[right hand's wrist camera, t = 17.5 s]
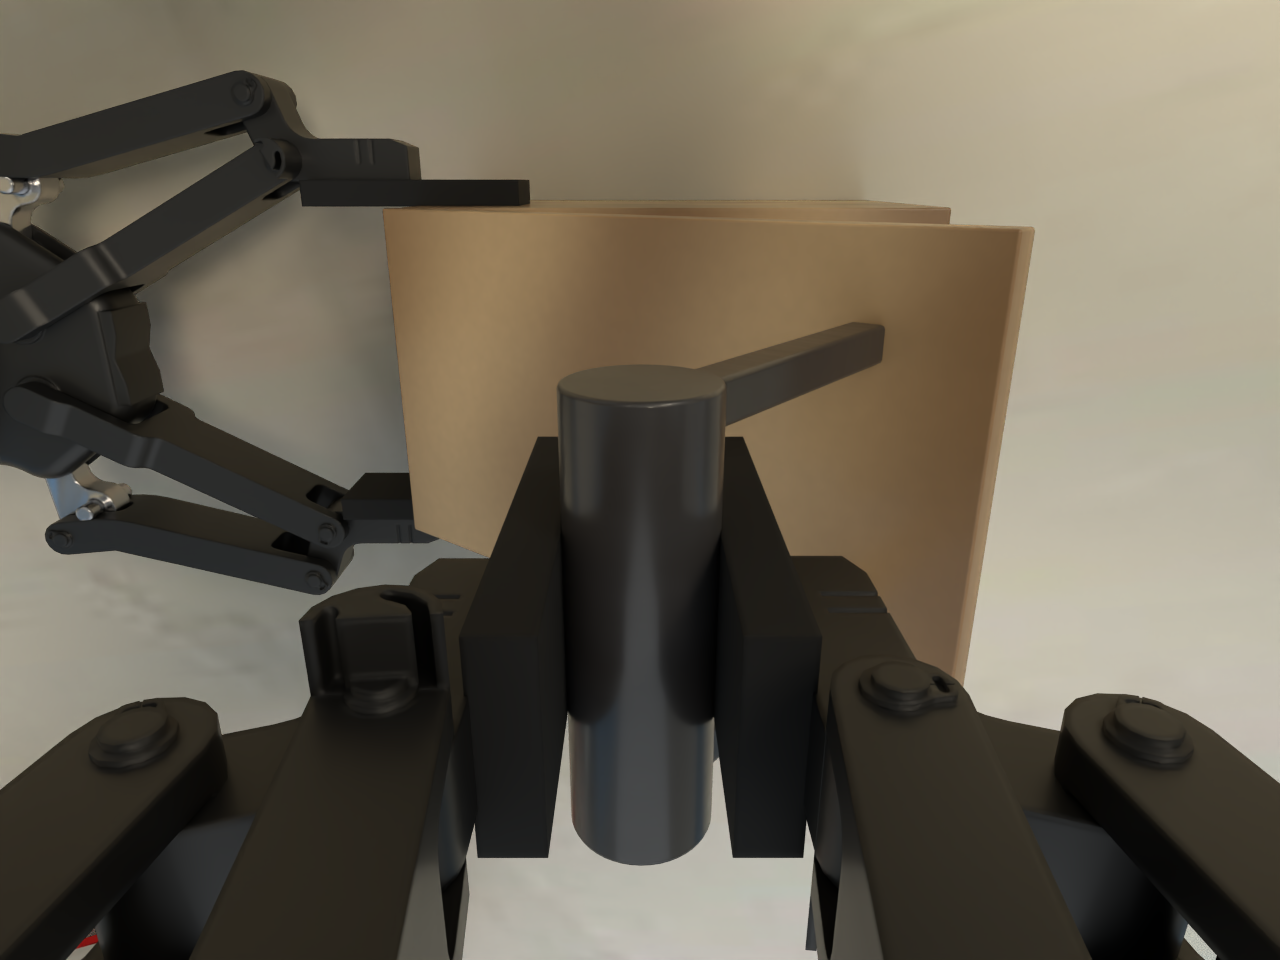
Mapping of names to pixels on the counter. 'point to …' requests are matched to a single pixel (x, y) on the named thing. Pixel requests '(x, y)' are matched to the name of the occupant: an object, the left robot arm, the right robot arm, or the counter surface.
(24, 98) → the counter surface
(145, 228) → the left robot arm
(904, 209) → the chest
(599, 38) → the counter surface
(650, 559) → the lid
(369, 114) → the counter surface
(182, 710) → the right robot arm
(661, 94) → the counter surface
